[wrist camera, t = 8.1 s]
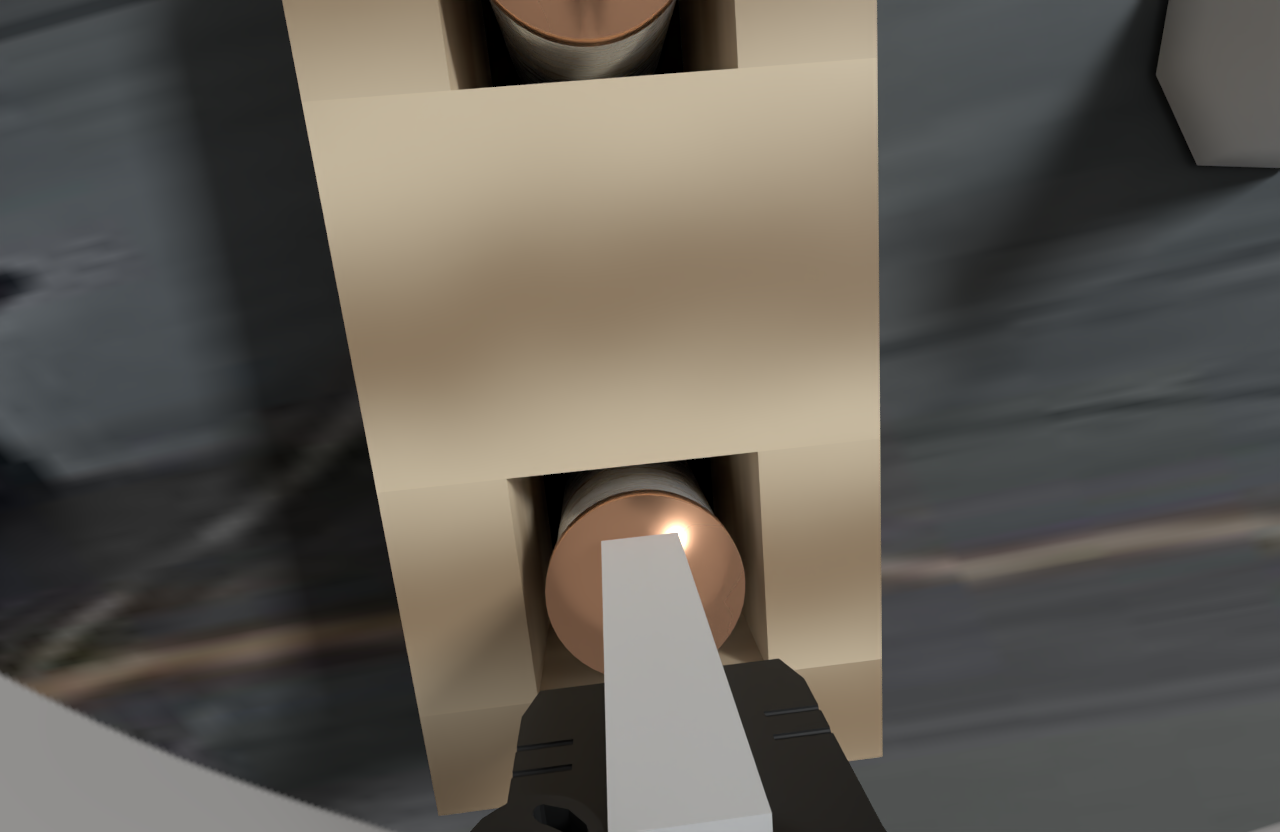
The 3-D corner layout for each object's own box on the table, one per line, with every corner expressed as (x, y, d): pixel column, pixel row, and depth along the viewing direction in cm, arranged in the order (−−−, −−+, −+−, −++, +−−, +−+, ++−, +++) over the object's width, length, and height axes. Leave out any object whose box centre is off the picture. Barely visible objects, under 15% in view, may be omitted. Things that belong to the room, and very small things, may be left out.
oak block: (352, -168, 15) (192, -464, 9) (766, -192, 15) (872, -486, 9) (485, 655, 19) (438, 815, 14) (798, 617, 20) (882, 756, 14)
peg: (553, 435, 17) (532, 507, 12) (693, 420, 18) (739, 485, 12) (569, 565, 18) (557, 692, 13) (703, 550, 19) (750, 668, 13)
